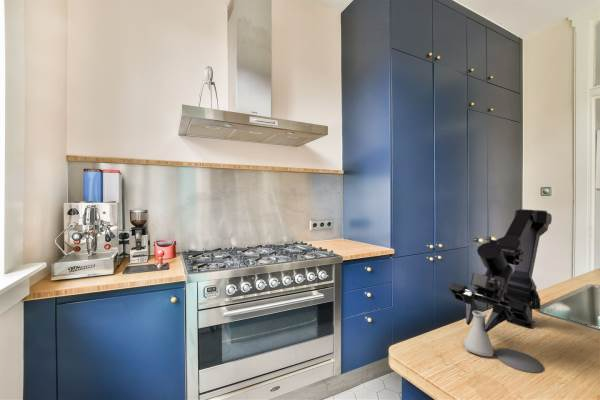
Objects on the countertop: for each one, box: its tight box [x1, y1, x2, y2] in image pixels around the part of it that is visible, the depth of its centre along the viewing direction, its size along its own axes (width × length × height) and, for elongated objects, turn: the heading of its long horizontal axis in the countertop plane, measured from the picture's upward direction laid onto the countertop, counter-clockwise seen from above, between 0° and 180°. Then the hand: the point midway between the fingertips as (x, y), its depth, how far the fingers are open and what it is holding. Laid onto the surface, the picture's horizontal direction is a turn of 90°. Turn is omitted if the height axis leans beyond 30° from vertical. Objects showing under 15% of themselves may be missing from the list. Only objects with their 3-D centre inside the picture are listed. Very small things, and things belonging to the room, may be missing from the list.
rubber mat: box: [494, 348, 544, 374], centre depth 69 cm, size 10×10×1 cm
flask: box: [462, 310, 495, 358], centre depth 73 cm, size 7×7×10 cm
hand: (476, 327), depth 72 cm, fingers open, 4 cm apart
